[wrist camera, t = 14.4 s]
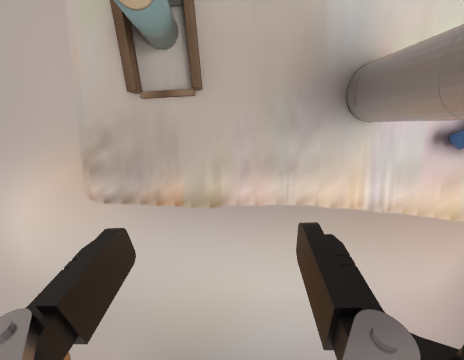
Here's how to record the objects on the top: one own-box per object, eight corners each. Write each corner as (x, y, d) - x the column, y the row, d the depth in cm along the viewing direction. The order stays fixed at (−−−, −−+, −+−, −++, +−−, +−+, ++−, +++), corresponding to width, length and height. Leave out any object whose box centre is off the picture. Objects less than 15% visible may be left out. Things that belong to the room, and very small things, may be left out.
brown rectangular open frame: (190, -33, 27) (186, -56, 23) (202, 94, 31) (200, 91, 28) (112, -30, 26) (95, -53, 23) (135, 99, 31) (124, 95, 27)
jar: (175, 8, 28) (153, -54, 18) (180, 48, 29) (163, 10, 20) (139, 9, 28) (97, -52, 18) (146, 50, 29) (111, 13, 19)
